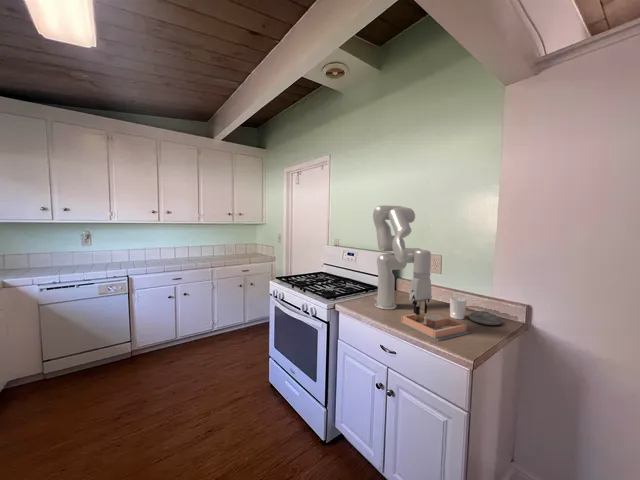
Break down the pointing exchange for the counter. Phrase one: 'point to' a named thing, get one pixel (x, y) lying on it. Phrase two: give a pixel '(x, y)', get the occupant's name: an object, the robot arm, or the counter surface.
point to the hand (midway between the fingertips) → (420, 312)
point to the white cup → (457, 307)
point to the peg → (421, 312)
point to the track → (436, 327)
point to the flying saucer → (485, 318)
